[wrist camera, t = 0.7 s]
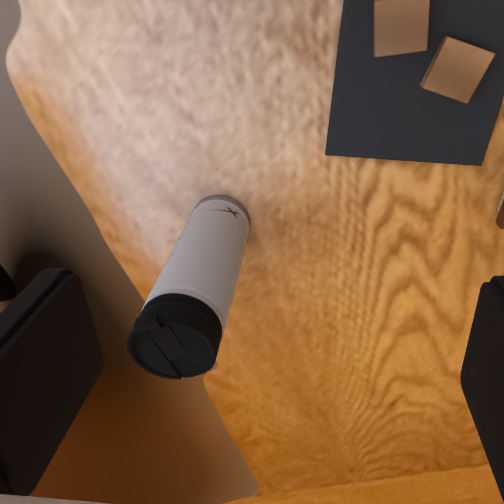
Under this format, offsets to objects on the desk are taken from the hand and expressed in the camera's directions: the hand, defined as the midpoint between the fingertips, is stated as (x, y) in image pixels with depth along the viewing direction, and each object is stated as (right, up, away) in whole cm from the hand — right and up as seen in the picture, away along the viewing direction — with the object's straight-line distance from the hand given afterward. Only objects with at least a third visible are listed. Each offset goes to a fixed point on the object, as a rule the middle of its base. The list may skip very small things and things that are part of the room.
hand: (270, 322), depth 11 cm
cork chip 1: (+11, +20, +25) cm, 33 cm away
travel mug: (-4, +5, +36) cm, 37 cm away
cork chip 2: (+16, +17, +26) cm, 35 cm away
